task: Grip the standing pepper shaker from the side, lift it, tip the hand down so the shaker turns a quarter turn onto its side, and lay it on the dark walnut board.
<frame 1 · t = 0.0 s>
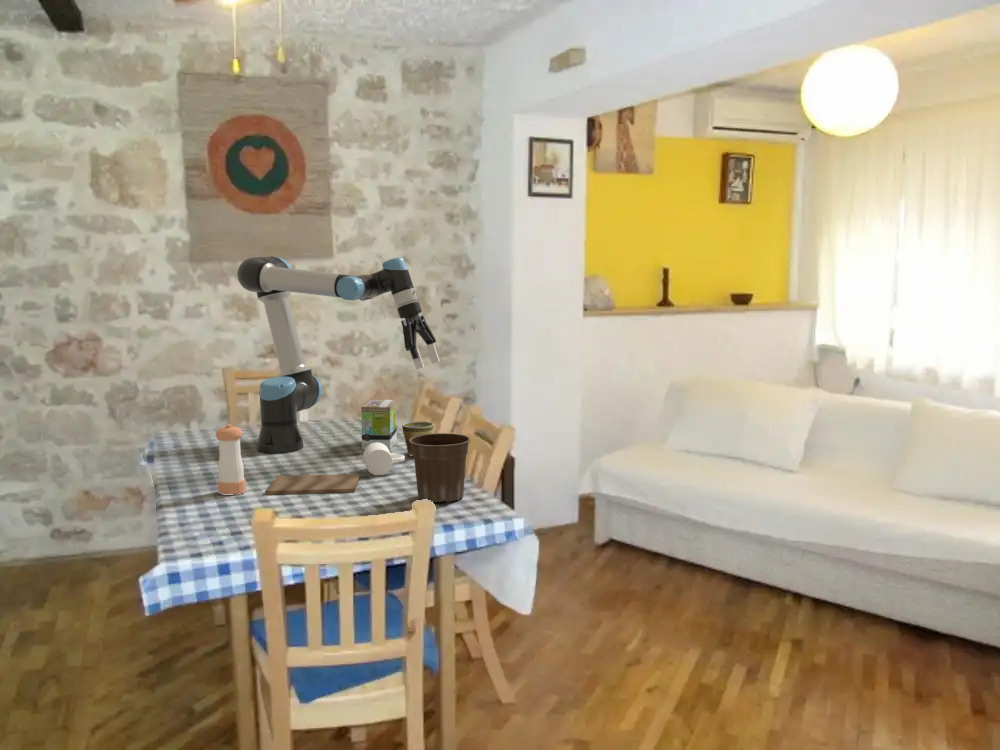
hand: (428, 365, 291), 28 cm above the table, tool tilted 20°, fingers open, 13 cm apart
ceramic cup: (418, 454, 287), on the table
plant pot: (441, 498, 237), on the table
pepper shaker: (232, 493, 244), on the table
mug: (385, 472, 266), on the table
walnut board: (314, 485, 250), on the table
tea box: (379, 446, 300), on the table
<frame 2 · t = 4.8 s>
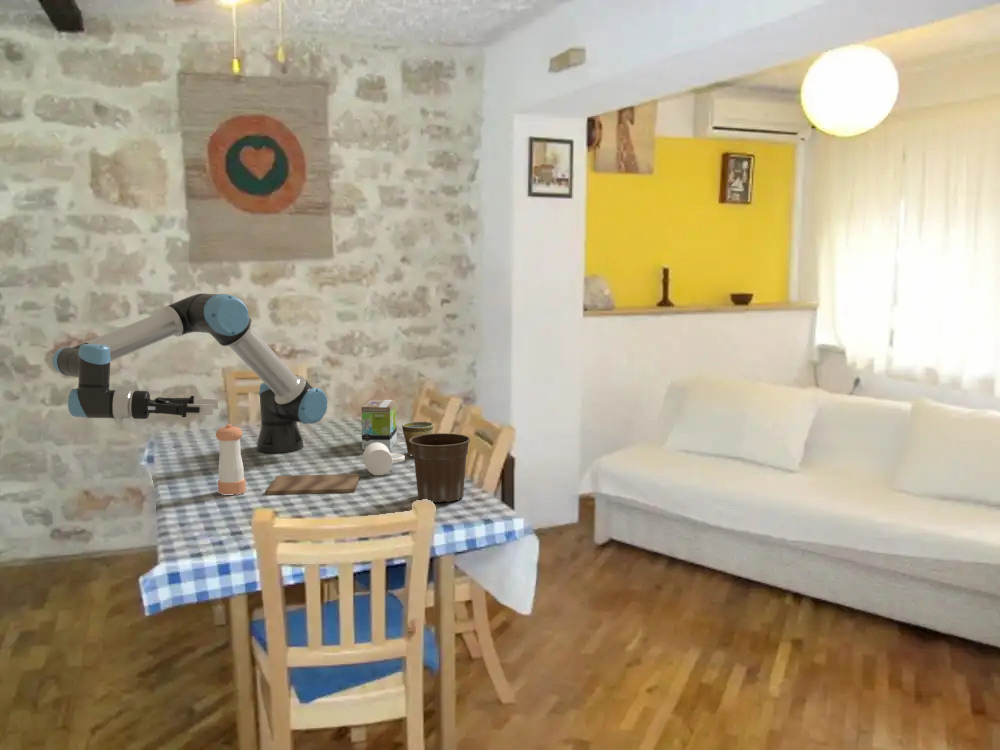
hand: (215, 406, 241), 24 cm above the table, tool horizontal, fingers open, 13 cm apart
nothing on the table moved.
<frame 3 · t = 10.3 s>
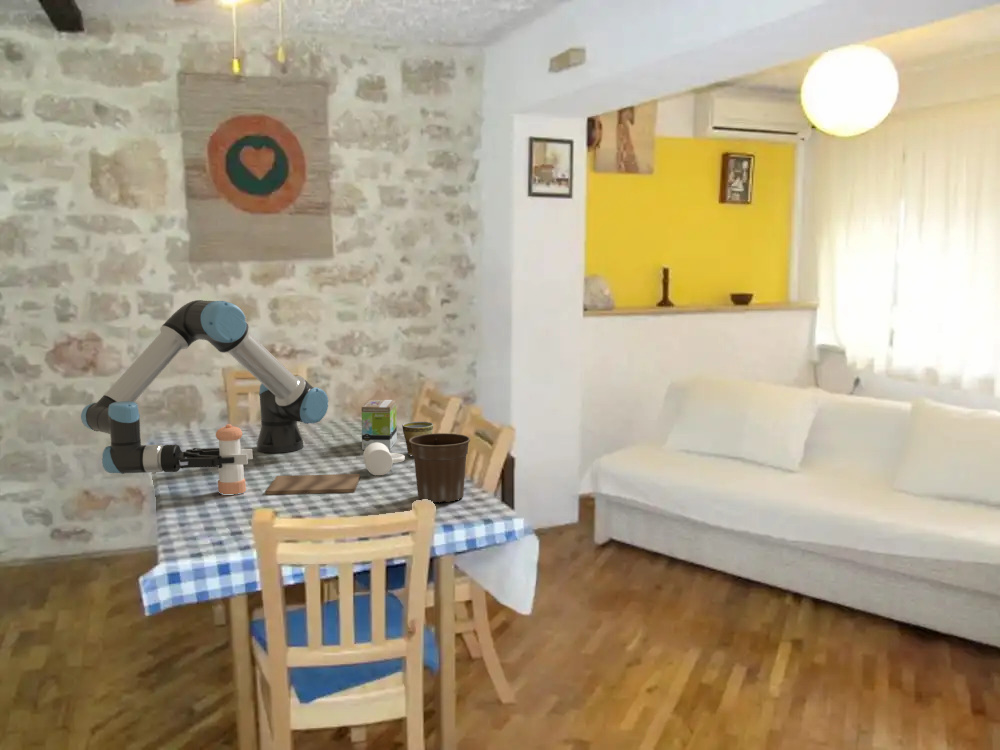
hand: (249, 456, 243), 10 cm above the table, tool horizontal, fingers closed on pepper shaker, 5 cm apart
pepper shaker: (232, 493, 244), on the table, touching gripper
everything else where it was.
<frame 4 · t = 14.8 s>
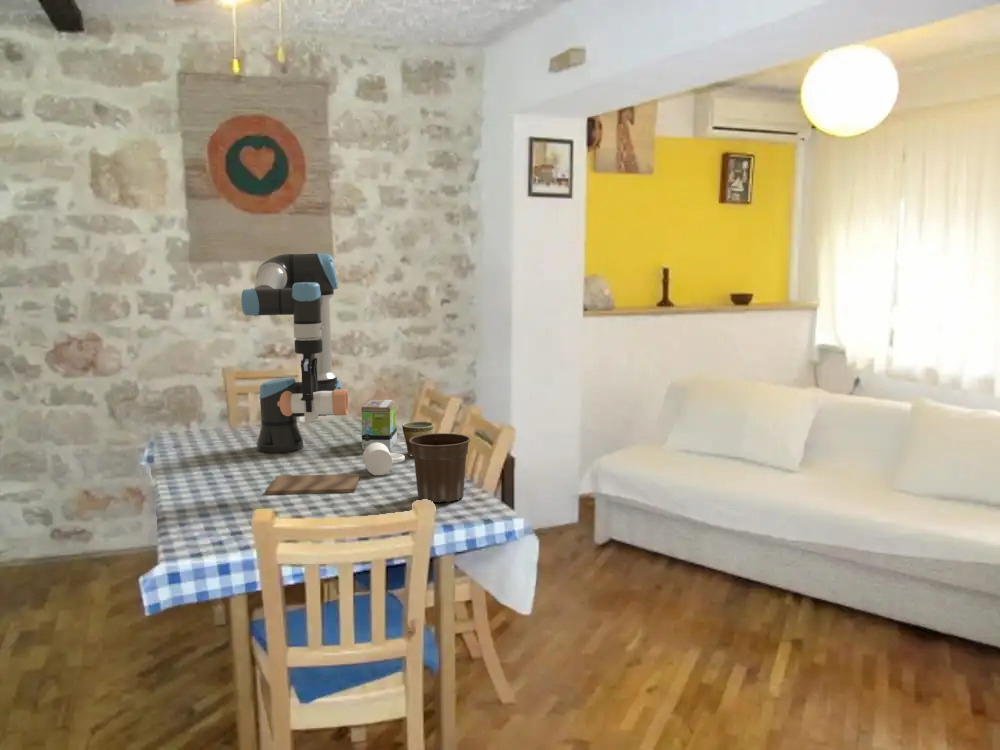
hand: (311, 420, 247), 19 cm above the table, tool pointing down, fingers closed on pepper shaker, 5 cm apart
pepper shaker: (347, 402, 247), point 24 cm above the table, touching gripper
everything else where it was.
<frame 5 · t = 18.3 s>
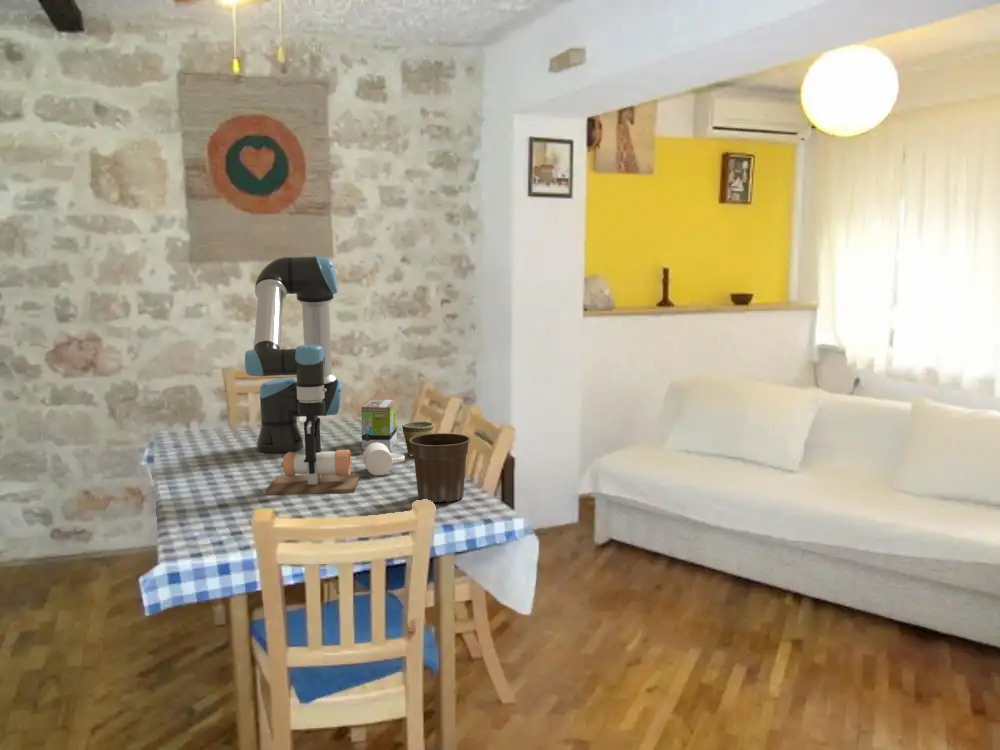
hand: (314, 481, 250), 1 cm above the table, tool pointing down, fingers closed on pepper shaker, 5 cm apart
pepper shaker: (350, 462, 250), point 6 cm above the table, touching gripper
everything else where it was.
when the fingers open (1 cm above the table, at t = 18.4 s): pepper shaker drops 2 cm, resting on walnut board.
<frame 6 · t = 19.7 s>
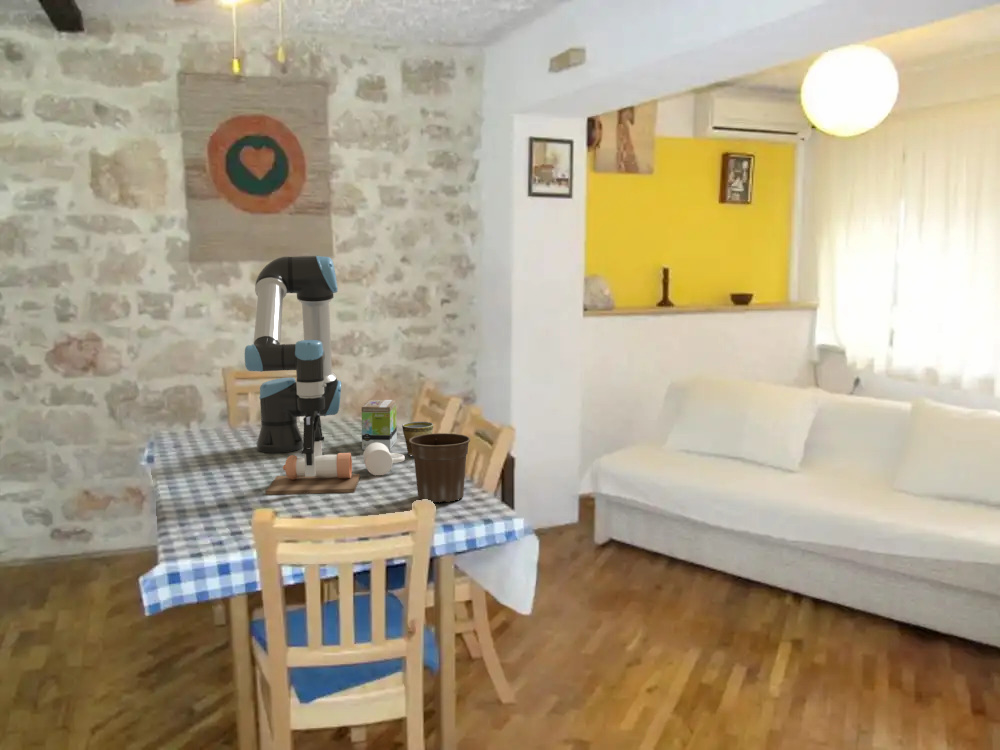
hand: (314, 469, 250), 5 cm above the table, tool pointing down, fingers open, 13 cm apart
pepper shaker: (351, 465, 254), point 5 cm above the table, touching walnut board
everything else where it was.
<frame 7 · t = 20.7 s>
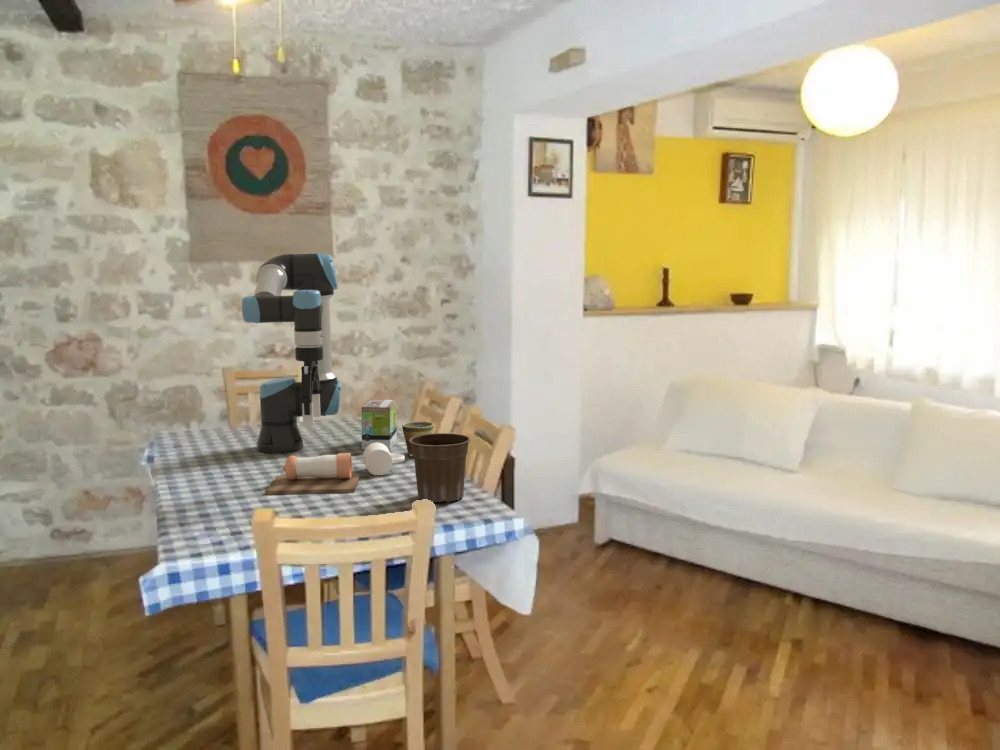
hand: (312, 421, 248), 18 cm above the table, tool pointing down, fingers open, 13 cm apart
nothing on the table moved.
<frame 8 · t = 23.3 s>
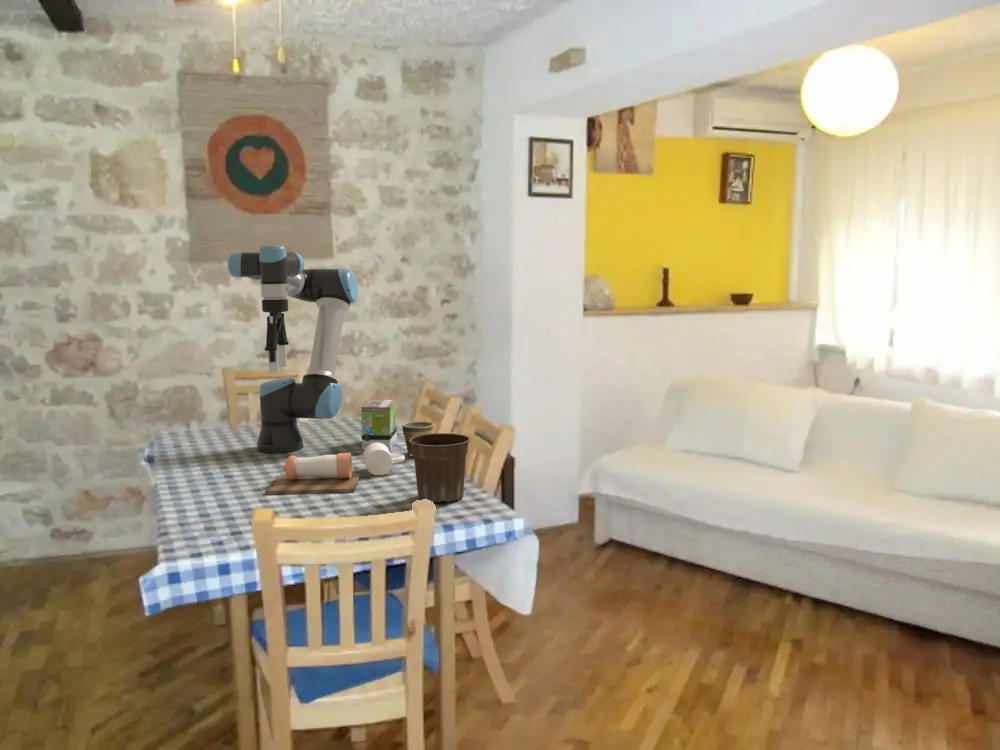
hand: (278, 369, 263), 31 cm above the table, tool pointing down, fingers open, 13 cm apart
nothing on the table moved.
at the end: pepper shaker tilted 90°; pepper shaker touching walnut board; the gripper is holding nothing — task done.
